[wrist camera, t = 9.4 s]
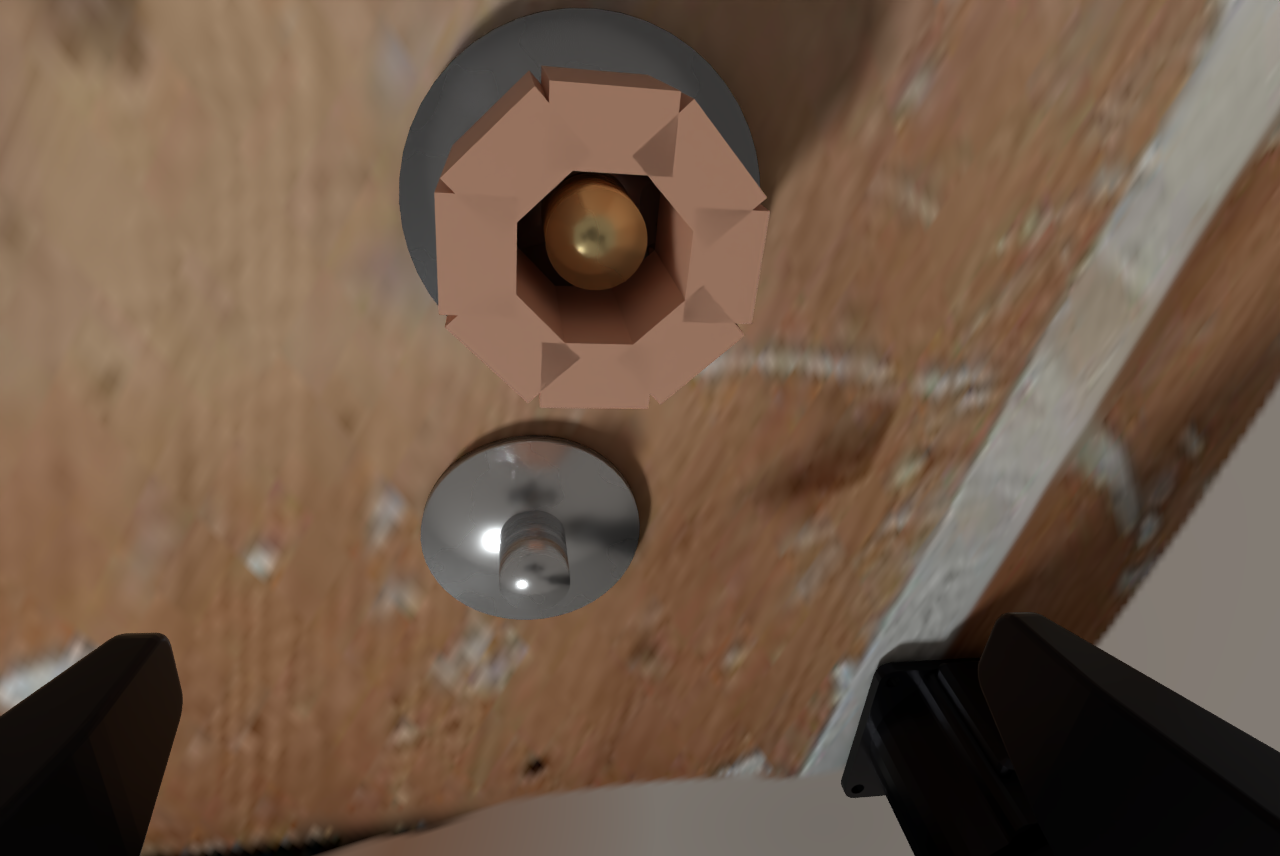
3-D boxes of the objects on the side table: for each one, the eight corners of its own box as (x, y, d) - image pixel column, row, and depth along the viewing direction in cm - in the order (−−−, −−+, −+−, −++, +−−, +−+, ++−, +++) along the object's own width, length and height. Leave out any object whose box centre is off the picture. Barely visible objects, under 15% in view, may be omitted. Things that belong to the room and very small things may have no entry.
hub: (728, 368, 20) (760, 422, 18) (412, 363, 19) (397, 420, 16) (779, 26, 17) (830, 30, 14) (390, -11, 15) (366, -15, 13)
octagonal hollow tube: (736, 82, 16) (788, 100, 13) (701, 345, 19) (737, 409, 16) (444, 57, 15) (430, 70, 12) (453, 339, 18) (442, 407, 15)
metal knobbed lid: (628, 606, 24) (641, 664, 22) (427, 614, 23) (419, 675, 21) (646, 435, 21) (662, 483, 19) (416, 435, 20) (405, 485, 18)
